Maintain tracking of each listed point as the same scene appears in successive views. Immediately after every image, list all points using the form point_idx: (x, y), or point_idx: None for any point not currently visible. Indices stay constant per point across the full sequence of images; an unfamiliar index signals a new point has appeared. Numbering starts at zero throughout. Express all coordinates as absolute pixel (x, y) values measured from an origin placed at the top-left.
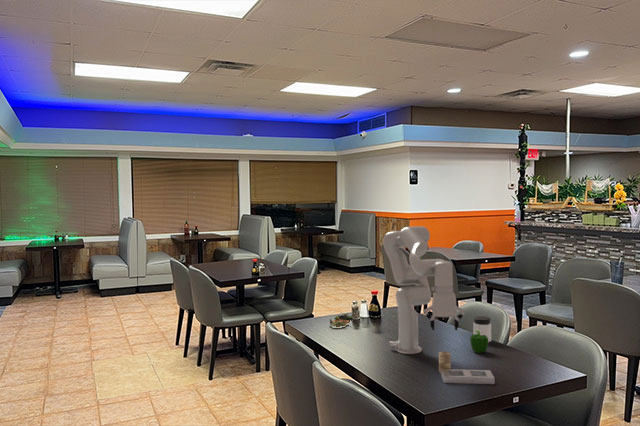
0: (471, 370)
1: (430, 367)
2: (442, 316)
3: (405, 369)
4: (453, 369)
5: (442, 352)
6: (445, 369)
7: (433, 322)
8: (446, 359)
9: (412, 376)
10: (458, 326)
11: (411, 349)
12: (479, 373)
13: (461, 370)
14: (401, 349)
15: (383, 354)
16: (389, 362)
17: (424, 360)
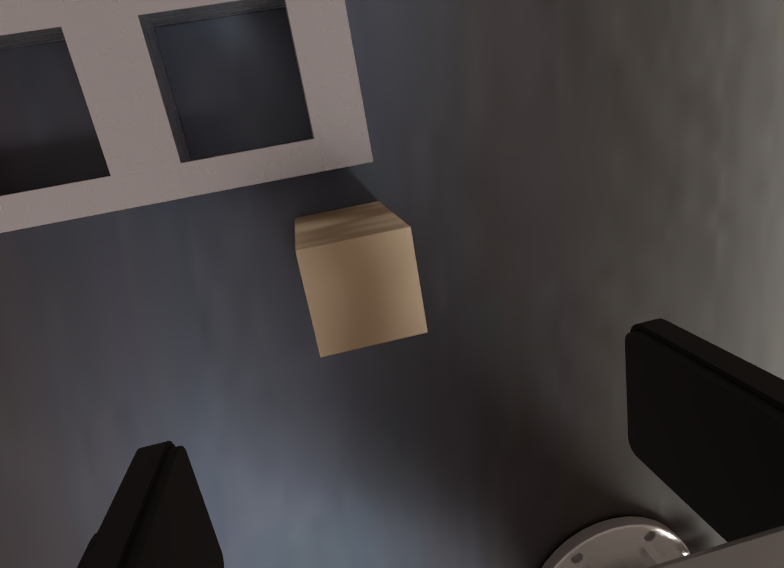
0: (95, 194)
1: (456, 309)
2: (703, 556)
3: (628, 216)
4: (264, 179)
5: (387, 312)
6: (335, 161)
7: (779, 394)
8: (336, 232)
9: (580, 69)
10: (90, 545)
11: (603, 562)
12: (24, 191)
13: (188, 170)
14: (661, 553)
15: None
16: (728, 328)
17: (502, 439)
